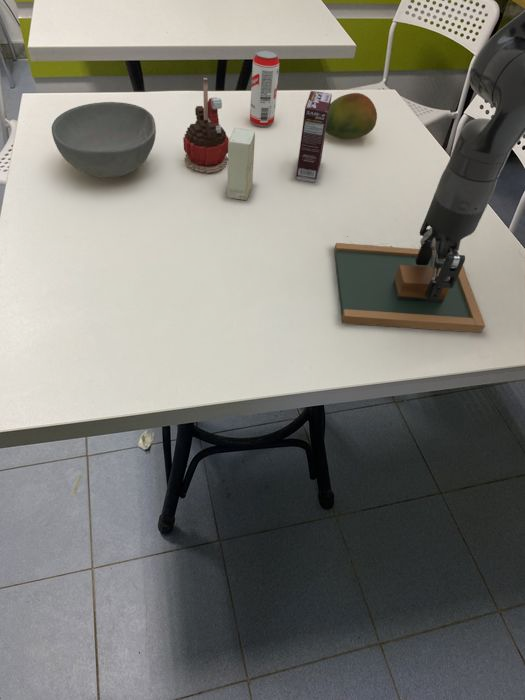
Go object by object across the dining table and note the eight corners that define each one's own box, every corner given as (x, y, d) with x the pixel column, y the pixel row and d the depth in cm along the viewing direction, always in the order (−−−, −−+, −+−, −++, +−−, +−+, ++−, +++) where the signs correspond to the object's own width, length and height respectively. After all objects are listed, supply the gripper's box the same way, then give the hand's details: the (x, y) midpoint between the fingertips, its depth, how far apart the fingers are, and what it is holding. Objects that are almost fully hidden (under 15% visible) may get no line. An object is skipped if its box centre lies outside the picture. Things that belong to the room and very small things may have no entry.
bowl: (57, 149, 110) (45, 103, 102) (149, 140, 115) (144, 96, 107) (67, 200, 98) (55, 152, 90) (168, 187, 103) (165, 141, 96)
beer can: (251, 128, 123) (256, 58, 110) (247, 116, 127) (250, 48, 114) (276, 128, 124) (283, 58, 112) (271, 116, 128) (277, 48, 116)
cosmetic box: (246, 201, 102) (250, 145, 93) (226, 197, 103) (227, 141, 93) (252, 185, 106) (256, 130, 97) (232, 181, 107) (234, 126, 97)
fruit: (378, 142, 123) (389, 102, 115) (338, 153, 118) (347, 111, 111) (349, 122, 129) (358, 82, 121) (311, 131, 124) (317, 90, 117)
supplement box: (300, 160, 115) (310, 89, 102) (320, 164, 114) (333, 93, 102) (294, 180, 109) (304, 107, 97) (315, 183, 109) (328, 111, 97)
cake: (179, 154, 112) (174, 69, 98) (218, 149, 115) (219, 66, 101) (193, 179, 106) (190, 92, 92) (233, 173, 109) (236, 88, 95)
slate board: (454, 259, 95) (458, 251, 94) (480, 332, 83) (485, 325, 82) (334, 250, 94) (335, 242, 93) (342, 323, 82) (344, 315, 80)
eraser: (437, 285, 88) (445, 268, 85) (442, 302, 85) (451, 285, 82) (393, 282, 88) (399, 264, 85) (397, 299, 85) (403, 282, 82)
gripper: (500, 228, 67) (457, 311, 80) (474, 172, 76) (438, 254, 89) (447, 224, 67) (411, 308, 79) (426, 169, 76) (397, 252, 89)
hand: (425, 280), depth 84 cm, fingers open, 8 cm apart
